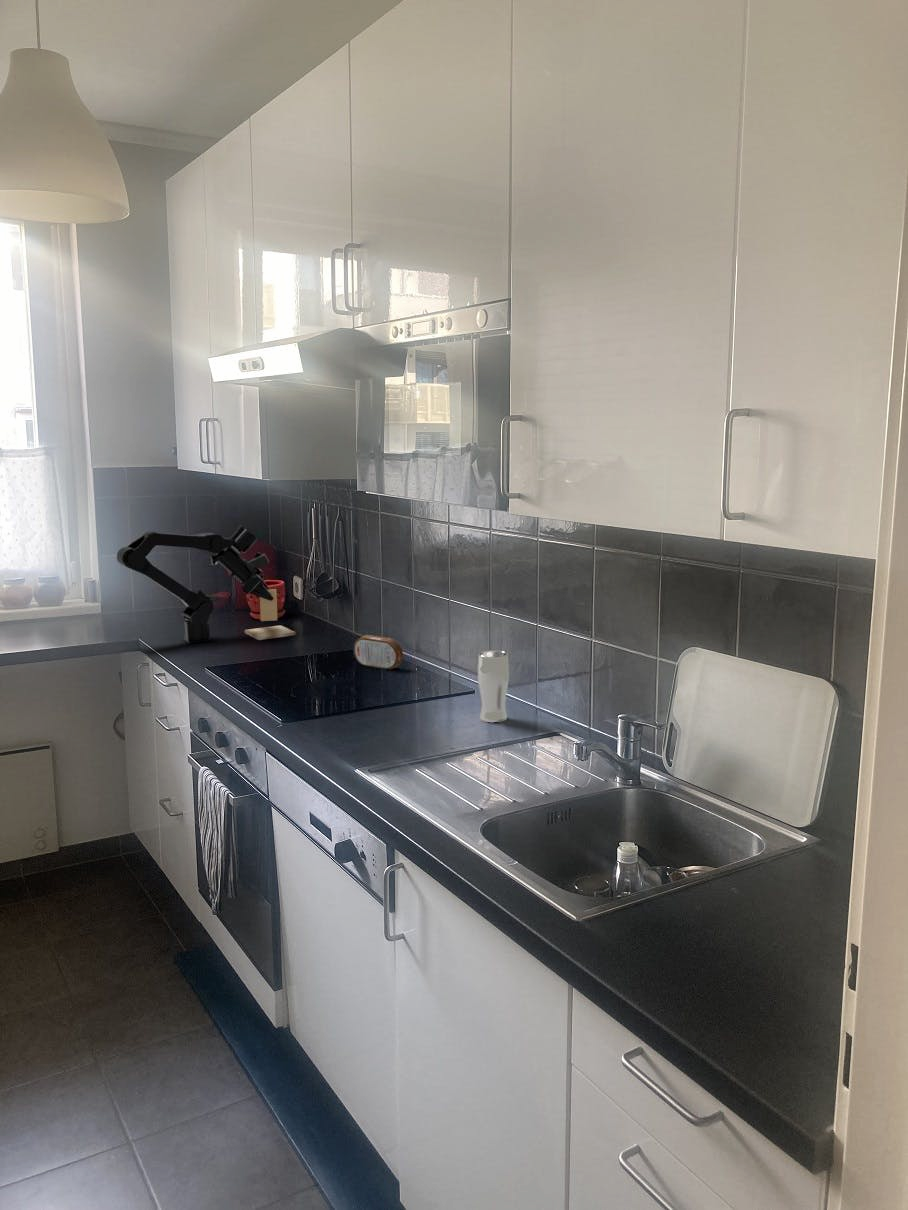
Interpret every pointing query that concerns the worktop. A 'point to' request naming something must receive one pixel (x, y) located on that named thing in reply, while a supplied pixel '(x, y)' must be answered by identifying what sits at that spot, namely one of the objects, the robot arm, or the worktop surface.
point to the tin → (378, 652)
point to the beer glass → (493, 684)
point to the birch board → (269, 632)
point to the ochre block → (269, 607)
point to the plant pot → (255, 600)
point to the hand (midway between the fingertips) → (272, 598)
